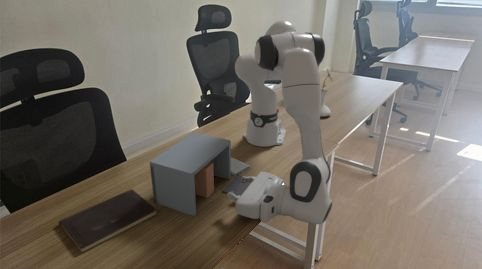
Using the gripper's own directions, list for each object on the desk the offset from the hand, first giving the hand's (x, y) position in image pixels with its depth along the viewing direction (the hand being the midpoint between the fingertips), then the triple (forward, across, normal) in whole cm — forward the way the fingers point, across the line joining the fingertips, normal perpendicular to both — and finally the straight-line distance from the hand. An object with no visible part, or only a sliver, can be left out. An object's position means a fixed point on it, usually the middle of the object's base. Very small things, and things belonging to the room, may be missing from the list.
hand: (235, 186), depth 105 cm
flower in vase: (-7, -92, +6) cm, 92 cm away
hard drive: (+12, -20, +7) cm, 24 cm away
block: (+11, 0, +6) cm, 13 cm away
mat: (0, -9, +6) cm, 11 cm away
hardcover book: (+30, +25, +7) cm, 39 cm away
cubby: (+15, 0, +6) cm, 17 cm away
